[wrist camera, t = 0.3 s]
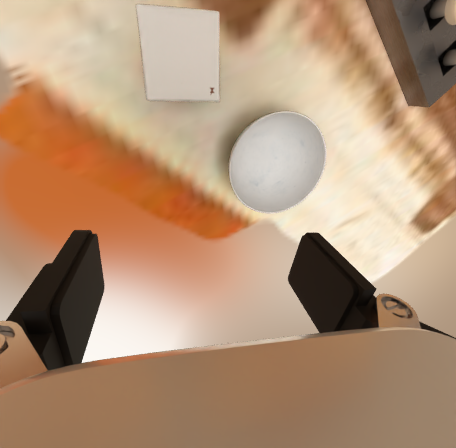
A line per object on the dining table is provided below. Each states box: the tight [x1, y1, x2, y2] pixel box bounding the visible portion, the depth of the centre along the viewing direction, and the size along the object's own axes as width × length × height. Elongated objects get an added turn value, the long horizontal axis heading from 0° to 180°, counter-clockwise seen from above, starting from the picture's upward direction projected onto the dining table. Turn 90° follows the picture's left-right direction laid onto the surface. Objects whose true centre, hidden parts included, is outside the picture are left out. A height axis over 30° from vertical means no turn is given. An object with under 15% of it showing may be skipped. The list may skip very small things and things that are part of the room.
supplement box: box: [136, 4, 220, 102], centre depth 27 cm, size 7×7×13 cm
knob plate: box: [366, 0, 456, 107], centre depth 34 cm, size 24×10×4 cm, turn 45°
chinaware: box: [229, 111, 326, 213], centre depth 38 cm, size 15×15×8 cm
